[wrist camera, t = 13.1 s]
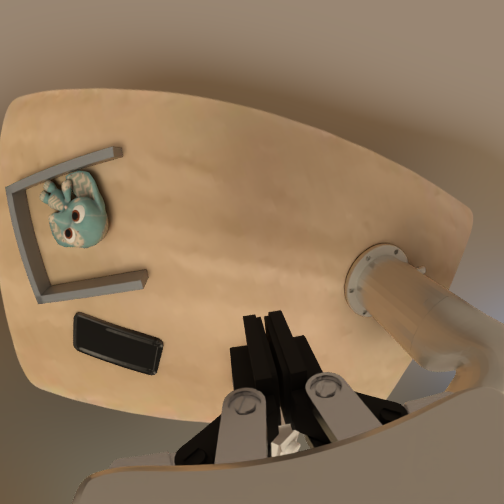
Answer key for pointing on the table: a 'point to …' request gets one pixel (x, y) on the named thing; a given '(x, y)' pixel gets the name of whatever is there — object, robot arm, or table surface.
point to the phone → (116, 344)
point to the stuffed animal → (76, 211)
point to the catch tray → (30, 246)
